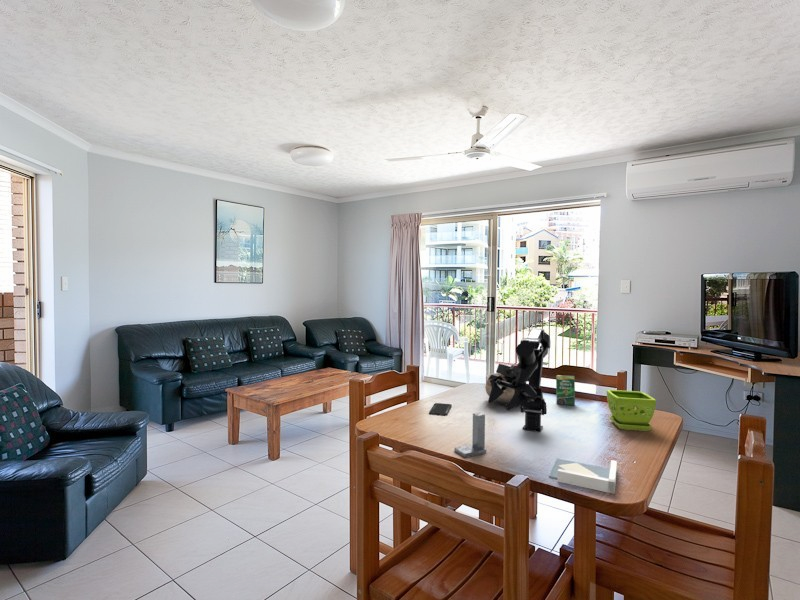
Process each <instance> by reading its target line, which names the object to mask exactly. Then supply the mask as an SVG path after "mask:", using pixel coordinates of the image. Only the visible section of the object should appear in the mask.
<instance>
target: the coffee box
mask: <svg viewBox="0 0 800 600" xmlns="http://www.w3.org/2000/svg"><path fill="white" fill-rule="evenodd" d="M555 375H556V376H555V378H556V379H555V381H556V385H555V390H556V395H555V396H556V397H555V398H556V401H555V402H556V405H566V406H567V405H568V406H575V402H576V400H575V399H576V396H575V394H576V390H575V388H576V387H575V386H576V385H575V383H576V382H575V375H559V374H555Z"/></svg>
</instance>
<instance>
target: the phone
mask: <svg viewBox="0 0 800 600" xmlns="http://www.w3.org/2000/svg"><path fill="white" fill-rule="evenodd" d="M451 408H452V404H450V403H441V402H434V403H433V405H432V407H431V408H430V410H429V411H428V414H429V415H433V414H435V415H434V416H446V417H447V416H448V415H449V413H450V411H451Z"/></svg>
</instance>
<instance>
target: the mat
mask: <svg viewBox="0 0 800 600" xmlns="http://www.w3.org/2000/svg"><path fill="white" fill-rule="evenodd" d="M558 469H562V470H567V471H572V472H577V473H582V474H587V475H592V476H597V477H602V478H607V479H609V473H610V467H603V466H599V465H598V466H597V465H593V464H587V463H583V462H577V461H572V460H567V459H561V458H556V459H555V462H554V464H553V466H552V468H551V471H550V473H549V475H548V478H551V479H554V480H558Z"/></svg>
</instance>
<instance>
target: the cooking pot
mask: <svg viewBox="0 0 800 600" xmlns="http://www.w3.org/2000/svg"><path fill="white" fill-rule="evenodd" d="M492 374H495V375H499V376H501V377H502V378H503V376H504V375H502V374H500V373H496V372H495V373H489V374H487V375H486V376H487V380H486V383H485V389H484V390H485V393H486V394H487V395H488V397H489V396H490V393H491V388H492V386H491V383H490V380H489V377H490V376H491V375H492ZM503 380H504V381H506V379H504V378H503ZM514 391H515V390H512V389H509V388H506V390H504V391H503V392H504V393H503V394H502V395H501V396H499V397H498V398H497V399H496V400H495V401H496V403H498V404H500V405H504V406H507V405H508V404H509V402H510V400H511V399H512V397H513V396H514ZM495 401H494V402H495Z"/></svg>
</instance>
